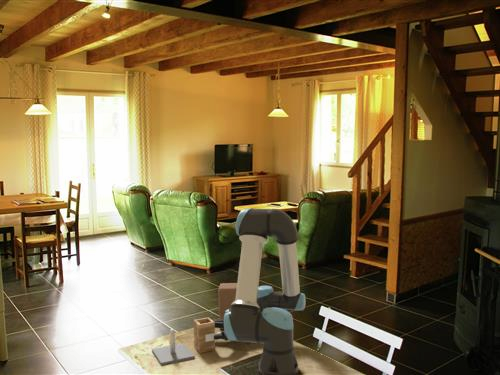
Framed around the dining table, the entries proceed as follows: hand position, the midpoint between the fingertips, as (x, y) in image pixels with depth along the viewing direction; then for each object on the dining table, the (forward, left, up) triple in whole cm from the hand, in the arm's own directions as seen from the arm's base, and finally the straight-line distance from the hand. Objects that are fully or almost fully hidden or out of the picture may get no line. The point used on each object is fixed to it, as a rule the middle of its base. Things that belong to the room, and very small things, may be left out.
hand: (200, 332), depth 206 cm
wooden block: (+19, -22, -7) cm, 29 cm away
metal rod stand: (0, +12, -7) cm, 14 cm away
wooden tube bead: (0, -2, -7) cm, 7 cm away
